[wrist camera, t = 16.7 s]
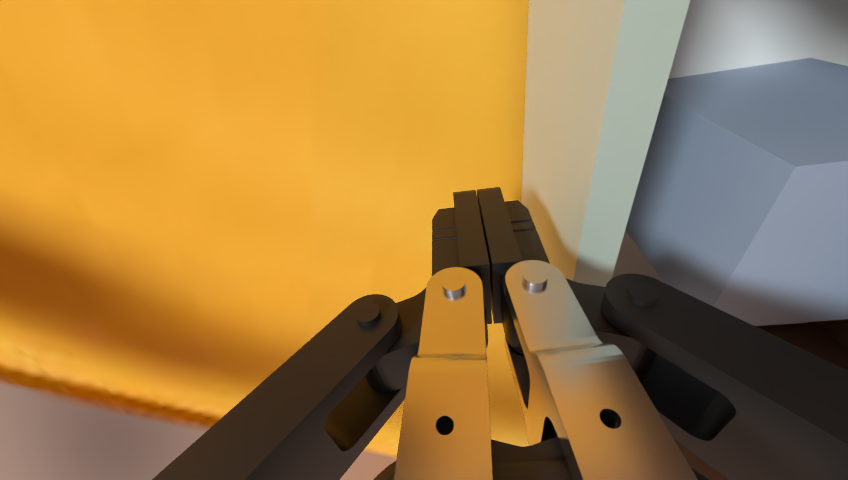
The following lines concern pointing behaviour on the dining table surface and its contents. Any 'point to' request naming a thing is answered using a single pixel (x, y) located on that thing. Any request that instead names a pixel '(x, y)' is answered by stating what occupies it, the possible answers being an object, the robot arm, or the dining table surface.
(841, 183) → the slate block
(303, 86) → the dining table surface
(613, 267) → the tray
